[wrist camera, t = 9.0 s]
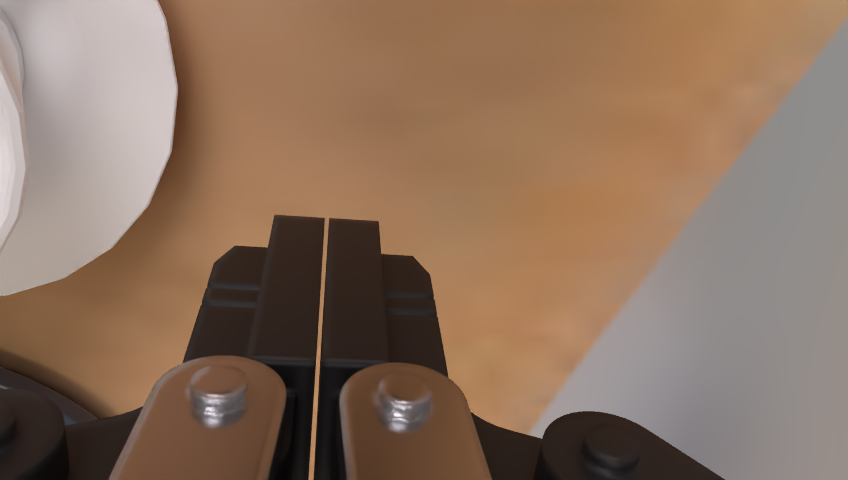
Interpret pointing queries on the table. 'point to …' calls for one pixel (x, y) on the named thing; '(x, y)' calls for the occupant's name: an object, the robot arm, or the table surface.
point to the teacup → (78, 130)
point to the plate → (70, 409)
